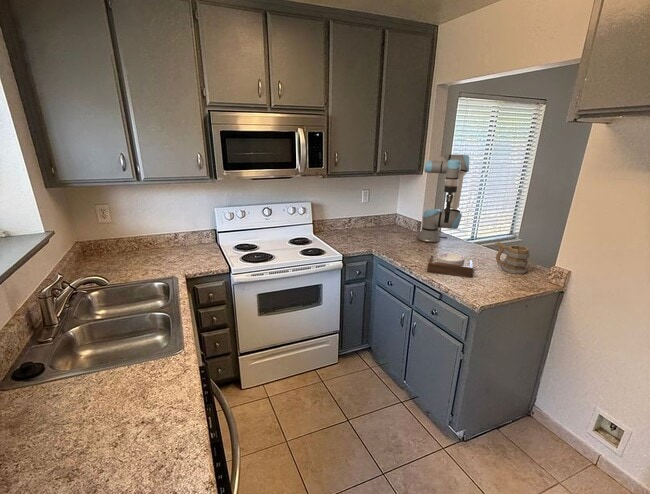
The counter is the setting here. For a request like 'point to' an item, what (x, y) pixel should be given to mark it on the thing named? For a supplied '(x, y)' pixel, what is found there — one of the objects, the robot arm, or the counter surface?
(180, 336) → the counter surface
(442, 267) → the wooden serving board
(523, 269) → the tankard
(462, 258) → the paper bowls
